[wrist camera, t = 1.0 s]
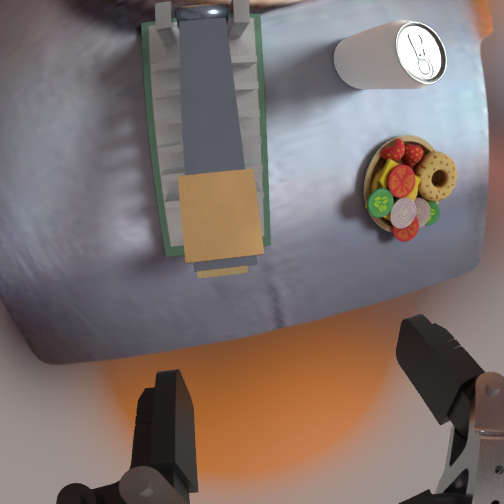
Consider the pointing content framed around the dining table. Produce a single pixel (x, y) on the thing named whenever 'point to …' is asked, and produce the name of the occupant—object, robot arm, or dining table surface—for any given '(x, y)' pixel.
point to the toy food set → (407, 185)
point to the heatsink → (170, 119)
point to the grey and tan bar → (213, 148)
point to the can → (391, 57)
